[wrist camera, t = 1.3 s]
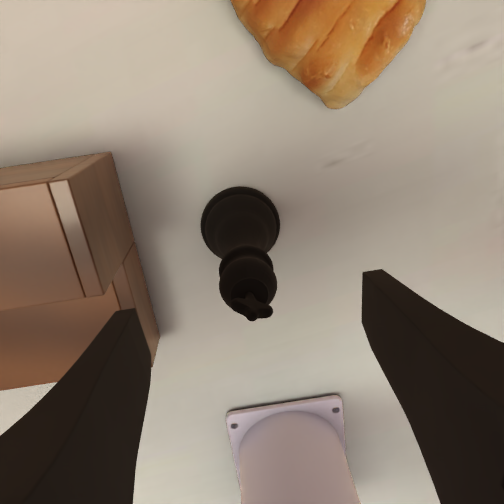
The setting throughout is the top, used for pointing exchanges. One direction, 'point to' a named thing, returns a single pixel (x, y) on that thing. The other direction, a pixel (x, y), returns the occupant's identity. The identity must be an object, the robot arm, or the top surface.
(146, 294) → the step rack
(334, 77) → the pastry
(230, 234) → the chess piece
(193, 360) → the top surface
